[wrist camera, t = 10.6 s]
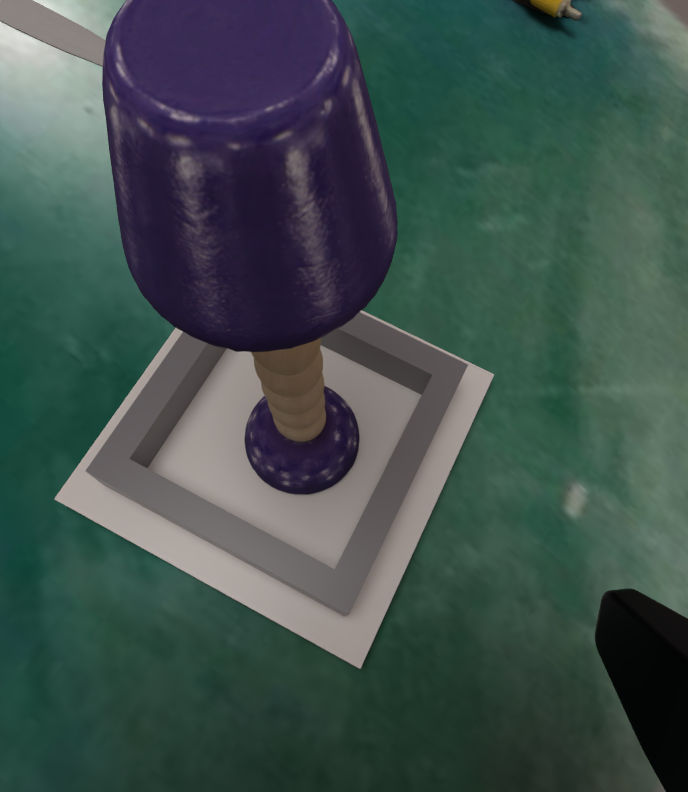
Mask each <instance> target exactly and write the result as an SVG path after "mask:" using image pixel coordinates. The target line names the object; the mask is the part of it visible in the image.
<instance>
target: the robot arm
mask: <svg viewBox="0 0 688 792" xmlns="http://www.w3.org/2000/svg"><path fill="white" fill-rule="evenodd" d="M595 642H596V647H597V650H598V652H599V655H600V657H601V659H602V661H603V663H604V666H605V668H606V670H607V672H608V675H609V677H610V679H611V681H612V683H613V686H614V688H615V690H616V692H617V694H618V697H619V699H620V701H621V703H622V705H623V708H624V710H625V712H626V714H627V717H628V719H629V721H630V723H631V725H632V728H633V730H634V732H635V734H636V736H637V738H638V740H639V743H640V745H641V747H642V749H643V751H644V753H645V755H646V757H647V758H648V760H649V762H650V764H651V766H652V768H653V769H654V771H655V773H656V775H657V777H658V778H659V780H660V782H661V784H662V785H663V787H664V789H665V791H666V792H688V619H687V618H686V617H684V616H682V615H680V614H678V613H677V612H675V611H673V610H671V609H669V608H668V607H666V606H664V605H662V604H660V603H658V602H657V601H655V600H653V599H651V598H649V597H648V596H646V595H644V594H642V593H640V592H639V591H636V590H634V589H619V590H610V591H607V592H605V593H604V595H603V596H602V599H601V604H600V609H599V614H598V620H597V625H596V630H595Z"/></svg>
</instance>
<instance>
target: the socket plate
mask: <svg viewBox="0 0 688 792" xmlns="http://www.w3.org/2000/svg"><path fill="white" fill-rule="evenodd" d="M320 350H321V353H322V356H323V370H322V374H323V377H324V386H326V387H328V388H330V389H332V390H333V391H335V392H336V393H337V394H339V395H340V396H341V397H342V398H343V399H344V400H345V401H346V402H347V404H348V405H349V406H350V408H351V409H352V411H353V413H354V415H355V418H356V420H357V424H358V428H359V439H360V440H359V450H358V454H357V457H356V460H355V462H354V464H353V466H352V468H351V469H350V470H349V472H348V473H347V474H346V475H345V476H344V477H343V478H342V480H340V481H339V482H338V483H336V484H335V485H333V486H332V487H330V488H328V489H325V490H323V491H321V492H317V493H313V494H308V495H305V494H289V493H285V492H283V491H279V490H277V489H275V488H273V487H271V486H270V485H268V484H267V483H265V482H264V481H263V480H262V479H261V478H260V477H259V476H258V475H257V473H256V472H255V471H254V470H253V468H252V466H251V464H250V462H249V460H248V458H247V454H246V449H245V440H244V438H245V430H246V425H247V421H248V419H249V416H250V414H251V412H252V410H253V408H254V407H255V406H256V404H257V403H258V402H259V401H260V400H261V399H262V398H263V397H264V396H265V395H264V393H263V391H262V387H261V381H260V379H259V377H258V376H257V373H256V370H255V366H254V357H253V355H252V354H251V352H246V351H242V352H235V351H233V350H231V349H228V348H222V347H216V346H213V345H210V344H208V343H205V342H203V341H201V340H198V339H196V338H193V337H191V336H190V335H188V334H187V333H185V332H183V331H181V330H179V329H177V328H175V330H174V331H173V332H172V334H171V335H170V337H169V338H168V339H167V341H166V342H165V344H164V345H163V346H162V348H161V349H160V351H159V352H158V354H157V355H156V356H155V358H154V359H153V361H152V362H151V363H150V365H149V366H148V368H147V369H146V370H145V372H144V373H143V375H142V376H141V377H140V379H139V380H138V382H137V383H136V385H135V386H134V387H133V389H132V390H131V392H130V393H129V394H128V396H127V397H126V399H125V400H124V401H123V403H122V404H121V406H120V407H119V408H118V410H117V411H116V413H115V414H114V416H113V417H112V418H111V420H110V421H109V423H108V424H107V425H106V427H105V428H104V430H103V431H102V432H101V434H100V435H99V437H98V438H97V439H96V441H95V442H94V444H93V445H92V447H91V448H90V449H89V451H88V452H87V454H86V455H85V456H84V458H83V459H82V461H81V462H80V463H79V465H78V466H77V468H76V469H75V470H74V472H73V473H72V475H71V476H70V478H69V479H68V480H67V482H66V483H65V485H64V486H63V487H62V489H61V490H60V492H59V493H58V494H57V496H56V497H55V500H57V501H59V502H60V503H62V504H64V505H66V506H68V507H69V508H71V509H73V510H75V511H77V512H78V513H80V514H82V515H84V516H86V517H87V518H89V519H91V520H93V521H95V522H96V523H98V524H100V525H102V526H104V527H105V528H107V529H109V530H111V531H113V532H114V533H116V534H118V535H120V536H122V537H123V538H125V539H127V540H129V541H131V542H132V543H134V544H136V545H138V546H140V547H141V548H143V549H145V550H147V551H149V552H150V553H152V554H154V555H156V556H158V557H159V558H161V559H163V560H165V561H167V562H168V563H170V564H172V565H174V566H176V567H177V568H179V569H181V570H183V571H185V572H186V573H188V574H190V575H192V576H194V577H195V578H197V579H199V580H201V581H203V582H204V583H206V584H208V585H210V586H212V587H213V588H215V589H217V590H219V591H221V592H222V593H224V594H226V595H228V596H230V597H231V598H233V599H235V600H237V601H239V602H240V603H242V604H244V605H246V606H248V607H249V608H251V609H253V610H255V611H257V612H258V613H260V614H262V615H264V616H266V617H267V618H269V619H271V620H273V621H275V622H276V623H278V624H280V625H282V626H284V627H285V628H287V629H289V630H291V631H293V632H294V633H296V634H298V635H300V636H302V637H303V638H305V639H307V640H309V641H311V642H312V643H314V644H316V645H318V646H320V647H321V648H323V649H325V650H327V651H329V652H330V653H332V654H334V655H336V656H338V657H339V658H341V659H343V660H345V661H347V662H348V663H350V664H352V665H354V666H356V667H357V668H359V669H360V668H361V666H362V664H363V662H364V660H365V657H366V655H367V653H368V651H369V649H370V646H371V644H372V642H373V640H374V638H375V635H376V633H377V631H378V629H379V627H380V624H381V622H382V620H383V618H384V616H385V613H386V611H387V609H388V607H389V605H390V602H391V600H392V598H393V596H394V594H395V591H396V589H397V587H398V585H399V583H400V580H401V578H402V576H403V574H404V572H405V569H406V567H407V565H408V563H409V561H410V559H411V556H412V554H413V552H414V550H415V548H416V545H417V543H418V541H419V539H420V537H421V534H422V532H423V530H424V528H425V526H426V523H427V521H428V519H429V517H430V515H431V512H432V510H433V508H434V506H435V504H436V501H437V499H438V497H439V495H440V493H441V490H442V488H443V486H444V484H445V482H446V479H447V477H448V475H449V473H450V471H451V468H452V466H453V464H454V462H455V460H456V457H457V455H458V453H459V451H460V449H461V446H462V444H463V442H464V440H465V438H466V435H467V433H468V431H469V429H470V427H471V424H472V422H473V420H474V418H475V416H476V413H477V411H478V409H479V407H480V405H481V402H482V400H483V398H484V396H485V394H486V392H487V389H488V387H489V385H490V383H491V381H492V378H493V376H494V374H492V373H490V372H488V371H486V370H484V369H482V368H480V367H478V366H476V365H474V364H471V363H469V362H467V361H465V360H463V359H461V358H459V357H457V356H455V355H453V354H451V353H449V352H447V351H445V350H442V349H440V348H438V347H436V346H434V345H432V344H430V343H428V342H426V341H424V340H422V339H420V338H418V337H416V336H414V335H411V334H409V333H407V332H405V331H403V330H401V329H399V328H397V327H395V326H393V325H391V324H389V323H387V322H385V321H382V320H380V319H378V318H376V317H374V316H372V315H370V314H368V313H366V312H364V311H362V310H361V311H360V312H359V313H358V314H357V315H356V316H355V317H354V318H353V319H352V320H350V321H349V322H348V323H346V324H345V325H343V326H342V327H340V328H337V329H335V330H334V331H333V332H331V333H330V334H328V335H326V336H324V337H322V338H321V346H320Z"/></svg>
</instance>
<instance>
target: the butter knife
mask: <svg viewBox="0 0 688 792" xmlns="http://www.w3.org/2000/svg"><path fill="white" fill-rule="evenodd" d="M0 20H1V21H3V22H5V23H6V24H8V25H10V26H12V27H14V28H16V29H18V30H20V31H22V32H25V33H27V34H29V35H31V36H33V37H35V38H37V39H39V40H42V41H44V42H46V43H48V44H50V45H52V46H54V47H57V48H59V49H61V50H63V51H66V52H68V53H71V54H73V55H76V56H78V57H81V58H83V59H86V60H88V61H91V62H93V63H96V64H98V65H100V66H103V53H104V48H105V42H106V40H104V39H102V38H101V37H99V36H98V35H96V34H94V33H93V32H91V31H90V30H88V29H86V28H84V27H82V26H80V25H79V24H77V23H75V22H73V21H71V20H69V19H67V18H65V17H64V16H62V15H60V14H58V13H56V12H54V11H52V10H50V9H48V8H46V7H44V6H43V5H41V4H39V3H37V2H34V1H32V0H0Z"/></svg>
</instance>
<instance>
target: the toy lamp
mask: <svg viewBox="0 0 688 792" xmlns="http://www.w3.org/2000/svg"><path fill="white" fill-rule="evenodd" d="M102 85H103V101H104V108H105V115H106V122H107V132H108V142H109V151H110V158H111V166H112V174H113V181H114V189H115V197H116V204H117V212H118V220H119V225H120V231H121V238H122V244H123V249H124V252H125V256H126V260H127V264H128V267H129V269H130V272H131V274H132V276H133V278H134V280H135V282H136V284H137V286H138V288H139V290H140V291H141V293H142V294H143V296H144V297H145V298H146V299H147V300H148V301H149V303H150V304H151V305H152V306H153V308H154V309H155V310H156V311H157V312H158V313H159V314H160V315H161V316H162V317H163V318H165V319H166V320H167V321H169V322H170V323H171V324H172V325H173V326H174V327H176V328H177V329H179V330H181V331H183V332H185V333H187V334H188V335H190V336H191V337H193V338H196V339H198V340H201V341H203V342H205V343H208V344H210V345H213V346H216V347H222V348H228V349H231V350H233V351H235V352H242V351H246V352H251V354H252V355H253V357H254V366H255V370H256V373H257V376H258V377H259V379H260V381H261V387H262V391H263V393H264V395H265V396H264V397H263V398H262V399H261V400H260V401H259V402H258V403H257V404H256V406H255V407H254V408H253V410H252V412H251V414H250V416H249V419H248V421H247V425H246V430H245V438H244V440H245V449H246V454H247V458H248V460H249V462H250V464H251V466H252V468H253V470H254V471H255V472H256V473H257V475H258V476H259V477H260V478H261V479H262V480H263V481H264V482H265V483H267V484H268V485H270V486H271V487H273V488H275V489H277V490H279V491H283V492H285V493H289V494H305V495H308V494H313V493H317V492H321V491H323V490H325V489H328V488H330V487H332V486H333V485H335V484H336V483H338V482H339V481H340V480H342V478H343V477H344V476H345V475H346V474H347V473H348V472H349V470H350V469H351V468H352V466H353V464H354V462H355V460H356V457H357V454H358V450H359V440H360V439H359V428H358V424H357V420H356V418H355V415H354V413H353V411H352V409H351V408H350V406H349V405H348V404H347V402H346V401H345V400H344V399H343V398H342V397H341V396H340V395H339V394H337V393H336V392H335V391H333V390H332V389H330V388H328V387H326V386H324V377H323V374H322V370H323V356H322V353H321V350H320V346H321V338H322V337H324V336H326V335H328V334H330V333H331V332H333V331H334V330H335V329H337V328H340V327H342V326H343V325H345V324H346V323H348V322H349V321H350V320H352V319H353V318H354V317H355V316H356V315H357V314H358V313H359V312H360V311H361V310H363V309H364V308H365V307H366V306H367V304H368V303H369V302H370V301H371V300H372V298H373V297H374V296H375V295H376V293H377V291H378V290H379V288H380V286H381V284H382V283H383V281H384V279H385V277H386V274H387V272H388V270H389V267H390V265H391V262H392V258H393V254H394V250H395V246H396V241H397V212H396V202H395V198H394V193H393V189H392V185H391V181H390V176H389V172H388V168H387V163H386V160H385V156H384V153H383V149H382V144H381V140H380V136H379V131H378V127H377V123H376V119H375V116H374V112H373V108H372V104H371V101H370V97H369V93H368V89H367V86H366V82H365V78H364V75H363V71H362V67H361V63H360V60H359V56H358V52H357V48H356V46H355V43H354V40H353V38H352V35H351V33H350V31H349V29H348V27H347V25H346V23H345V21H344V19H343V17H342V15H341V14H340V12H339V10H338V9H337V7H336V5H335V4H334V3H333V2H332V0H126V2H125V3H124V4H123V5H122V7H121V8H120V10H119V11H118V13H117V14H116V16H115V17H114V19H113V21H112V24H111V26H110V28H109V31H108V33H107V37H106V42H105V48H104V53H103V81H102Z"/></svg>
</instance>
